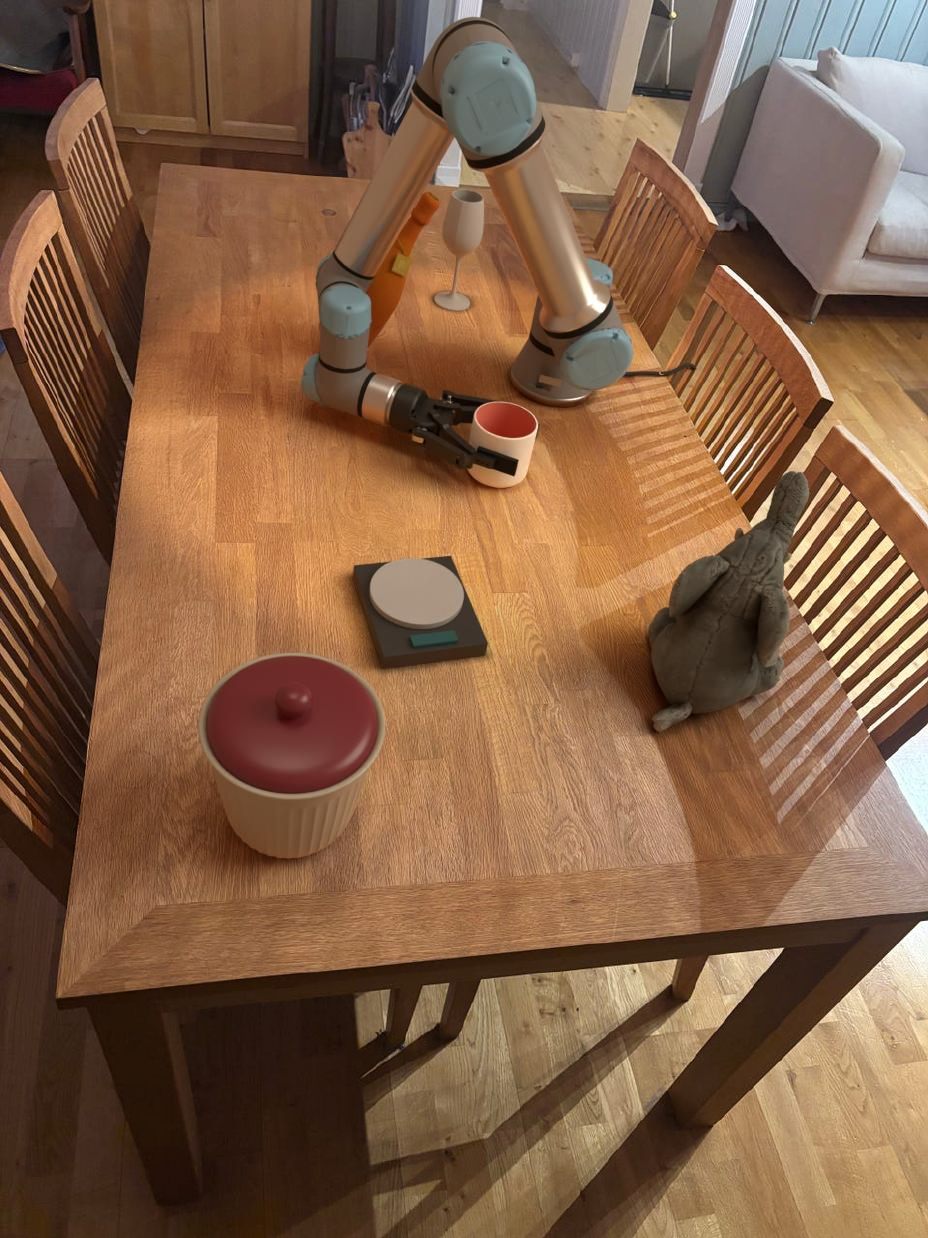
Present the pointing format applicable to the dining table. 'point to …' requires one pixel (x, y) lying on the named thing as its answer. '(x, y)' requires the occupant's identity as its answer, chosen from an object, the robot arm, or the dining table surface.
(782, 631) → the stuffed elephant
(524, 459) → the cup
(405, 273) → the wine bottle
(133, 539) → the dining table surface
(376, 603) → the scale
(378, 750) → the canister
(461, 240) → the wineglass
